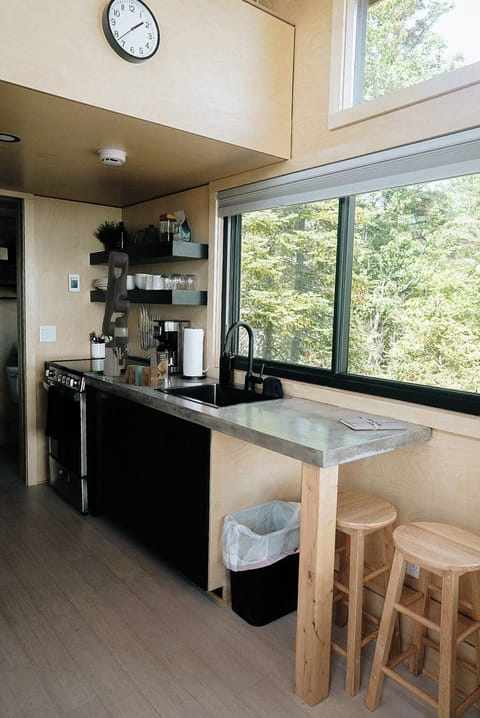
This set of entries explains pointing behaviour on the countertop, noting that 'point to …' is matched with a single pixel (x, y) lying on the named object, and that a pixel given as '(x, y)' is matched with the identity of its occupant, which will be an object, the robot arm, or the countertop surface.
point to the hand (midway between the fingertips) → (120, 365)
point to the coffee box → (160, 363)
